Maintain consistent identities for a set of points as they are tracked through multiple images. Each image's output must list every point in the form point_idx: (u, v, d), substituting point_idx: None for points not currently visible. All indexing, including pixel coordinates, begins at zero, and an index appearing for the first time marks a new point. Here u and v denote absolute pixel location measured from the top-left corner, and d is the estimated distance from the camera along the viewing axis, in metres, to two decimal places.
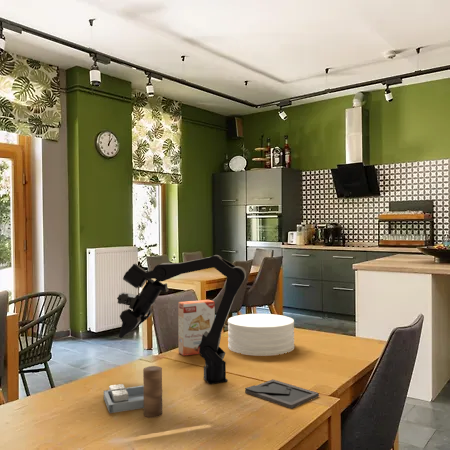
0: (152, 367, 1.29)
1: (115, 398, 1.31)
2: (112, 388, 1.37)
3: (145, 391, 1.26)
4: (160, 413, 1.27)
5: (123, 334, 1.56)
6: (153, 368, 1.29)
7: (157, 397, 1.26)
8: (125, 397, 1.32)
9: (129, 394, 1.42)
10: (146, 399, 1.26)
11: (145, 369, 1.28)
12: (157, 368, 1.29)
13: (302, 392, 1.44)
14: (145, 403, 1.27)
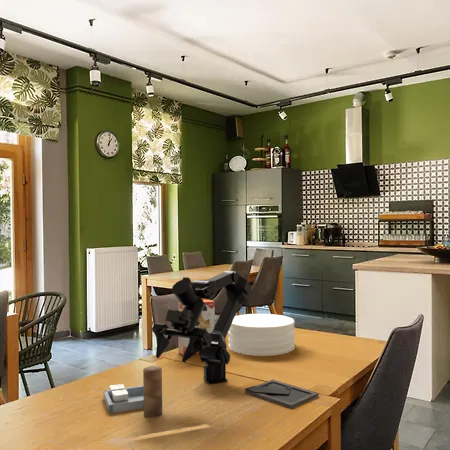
0: (152, 367, 1.29)
1: (115, 398, 1.31)
2: (112, 388, 1.37)
3: (145, 391, 1.26)
4: (160, 413, 1.27)
5: (188, 357, 1.34)
6: (153, 368, 1.29)
7: (157, 397, 1.26)
8: (125, 397, 1.32)
9: (129, 394, 1.42)
10: (146, 399, 1.26)
11: (145, 369, 1.28)
12: (157, 368, 1.29)
13: (302, 392, 1.44)
14: (145, 403, 1.27)
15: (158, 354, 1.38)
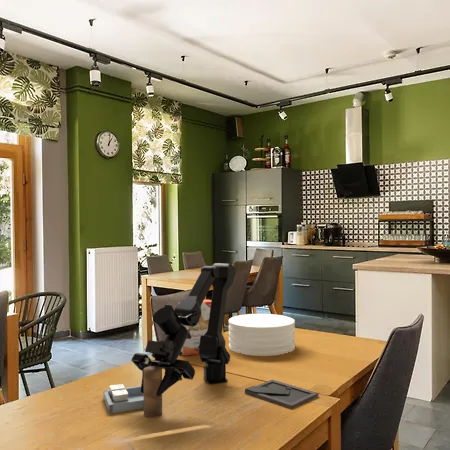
0: (153, 367, 1.29)
1: (115, 398, 1.31)
2: (112, 388, 1.37)
3: (145, 391, 1.26)
4: (160, 413, 1.27)
5: (163, 391, 1.27)
6: (153, 368, 1.29)
7: (157, 397, 1.26)
8: (125, 397, 1.32)
9: (129, 394, 1.42)
10: (146, 399, 1.26)
11: (145, 369, 1.28)
12: (157, 368, 1.29)
13: (302, 392, 1.44)
14: (145, 403, 1.27)
15: (143, 389, 1.29)
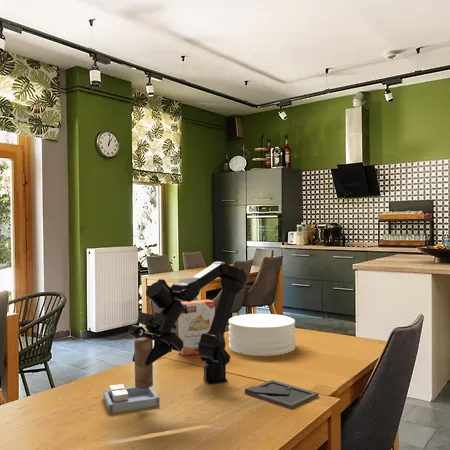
0: (144, 338, 1.34)
1: (115, 398, 1.31)
2: (112, 388, 1.37)
3: (135, 360, 1.32)
4: (150, 382, 1.32)
5: (152, 361, 1.32)
6: (144, 339, 1.34)
7: (146, 367, 1.31)
8: (125, 397, 1.32)
9: (129, 394, 1.42)
10: (136, 368, 1.32)
11: (136, 339, 1.33)
12: (147, 339, 1.34)
13: (302, 392, 1.44)
14: (135, 372, 1.32)
15: None
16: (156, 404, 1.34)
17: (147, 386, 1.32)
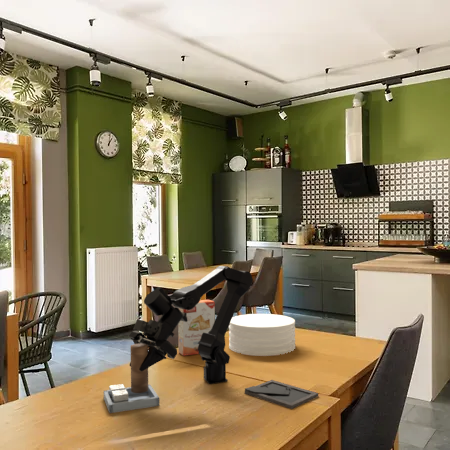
0: (140, 344, 1.39)
1: (115, 398, 1.31)
2: (112, 388, 1.37)
3: (131, 365, 1.37)
4: (144, 387, 1.36)
5: (146, 367, 1.36)
6: (140, 345, 1.38)
7: (141, 372, 1.36)
8: (125, 397, 1.32)
9: (129, 394, 1.42)
10: (131, 373, 1.37)
11: (132, 345, 1.38)
12: (143, 345, 1.38)
13: (302, 392, 1.44)
14: (131, 376, 1.37)
15: None
16: (156, 404, 1.34)
17: (141, 391, 1.36)
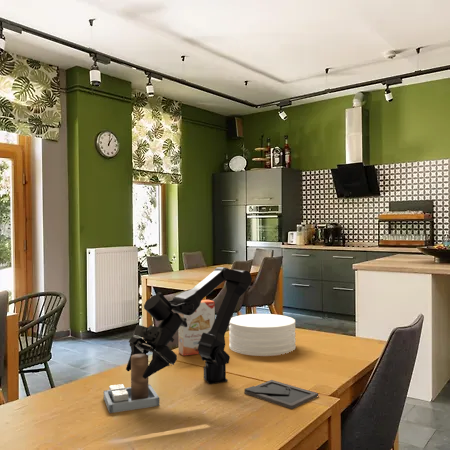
0: (141, 355, 1.39)
1: (115, 398, 1.31)
2: (112, 388, 1.37)
3: (131, 376, 1.37)
4: (144, 398, 1.36)
5: (149, 374, 1.34)
6: (140, 355, 1.38)
7: (141, 383, 1.36)
8: (125, 397, 1.32)
9: (129, 394, 1.42)
10: (131, 383, 1.37)
11: (133, 355, 1.38)
12: (143, 356, 1.38)
13: (301, 392, 1.44)
14: (131, 387, 1.37)
15: (128, 367, 1.41)
16: (156, 404, 1.34)
17: None
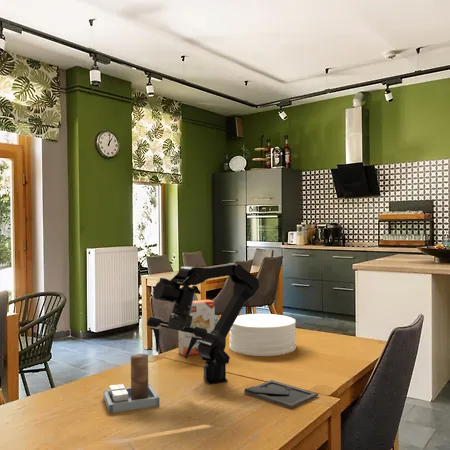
0: (140, 355, 1.39)
1: (115, 398, 1.31)
2: (112, 388, 1.37)
3: (131, 376, 1.37)
4: (144, 398, 1.36)
5: None
6: (140, 355, 1.38)
7: (141, 383, 1.36)
8: (125, 397, 1.32)
9: (129, 394, 1.42)
10: (131, 383, 1.37)
11: (133, 356, 1.38)
12: (143, 356, 1.38)
13: (301, 393, 1.44)
14: (131, 387, 1.37)
15: (158, 349, 1.47)
16: (156, 404, 1.34)
17: None
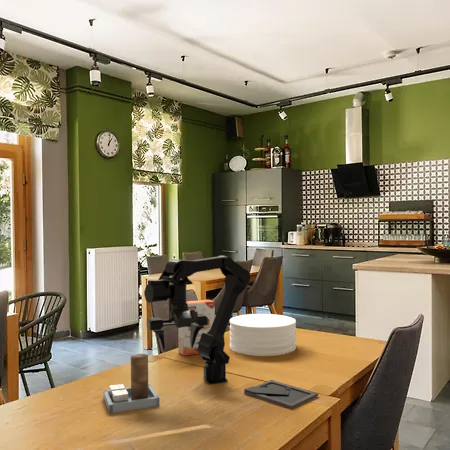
0: (140, 355, 1.39)
1: (115, 398, 1.31)
2: (112, 388, 1.37)
3: (131, 376, 1.37)
4: (144, 398, 1.36)
5: None
6: (140, 355, 1.38)
7: (141, 383, 1.36)
8: (125, 397, 1.32)
9: (129, 394, 1.42)
10: (131, 383, 1.37)
11: (133, 356, 1.38)
12: (143, 356, 1.38)
13: (301, 392, 1.44)
14: (131, 387, 1.37)
15: None
16: (156, 404, 1.34)
17: None
